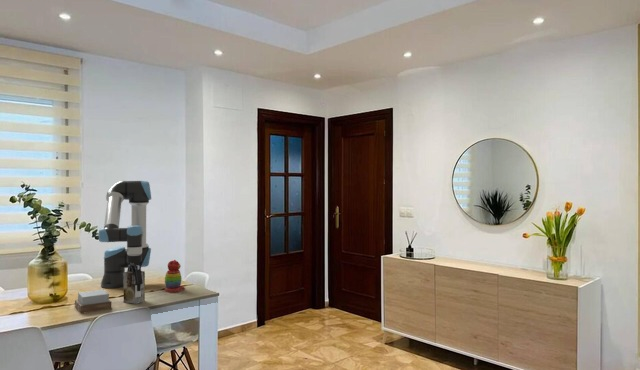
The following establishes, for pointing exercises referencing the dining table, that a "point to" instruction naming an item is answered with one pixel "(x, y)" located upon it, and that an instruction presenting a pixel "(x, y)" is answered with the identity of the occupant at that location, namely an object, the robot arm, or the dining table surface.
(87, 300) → the top slab
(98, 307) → the base slab
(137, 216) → the robot arm
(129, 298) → the coffee box
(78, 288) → the dining table surface
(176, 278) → the stacking bear
